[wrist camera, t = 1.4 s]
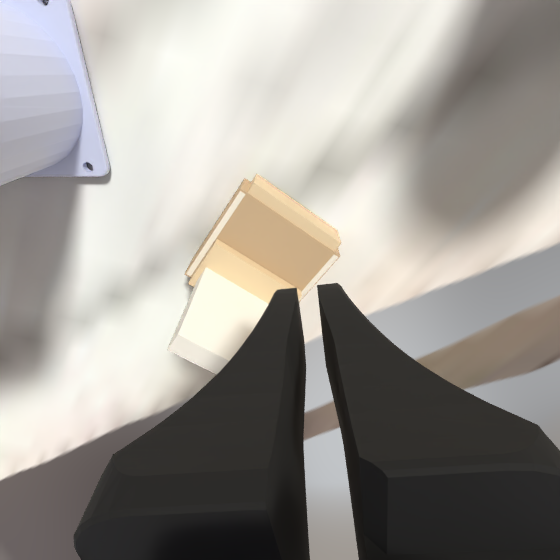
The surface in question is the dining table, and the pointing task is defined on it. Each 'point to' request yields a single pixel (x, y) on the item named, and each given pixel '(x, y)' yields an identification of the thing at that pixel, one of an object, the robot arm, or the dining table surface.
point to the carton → (274, 235)
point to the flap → (223, 307)
